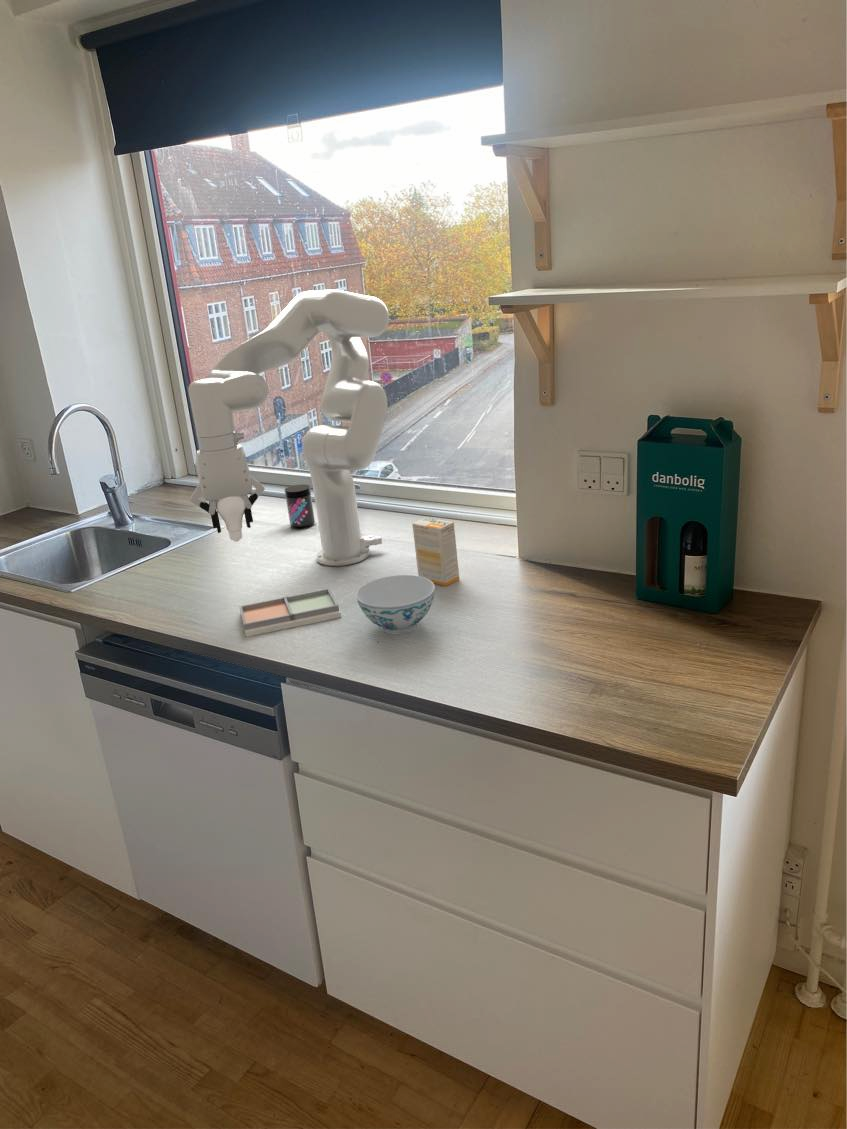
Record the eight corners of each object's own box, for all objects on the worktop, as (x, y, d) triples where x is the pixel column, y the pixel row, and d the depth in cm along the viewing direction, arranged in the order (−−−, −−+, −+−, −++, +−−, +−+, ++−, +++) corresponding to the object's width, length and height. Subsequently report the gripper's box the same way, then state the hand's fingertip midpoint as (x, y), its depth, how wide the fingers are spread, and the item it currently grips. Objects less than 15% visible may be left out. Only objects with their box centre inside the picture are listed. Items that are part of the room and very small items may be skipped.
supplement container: (285, 526, 233) (279, 489, 229) (306, 519, 237) (301, 483, 233) (299, 531, 228) (293, 493, 224) (320, 524, 232) (314, 486, 228)
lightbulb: (225, 548, 176) (217, 496, 172) (218, 540, 181) (210, 489, 177) (255, 542, 178) (247, 490, 174) (247, 534, 184) (239, 484, 180)
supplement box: (460, 579, 187) (455, 521, 182) (445, 587, 183) (440, 528, 179) (432, 572, 192) (426, 516, 187) (417, 579, 189) (411, 522, 184)
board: (329, 595, 185) (328, 586, 184) (341, 617, 174) (339, 607, 173) (240, 613, 181) (238, 604, 180) (246, 636, 170) (244, 626, 169)
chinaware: (345, 628, 169) (340, 591, 166) (407, 604, 177) (403, 568, 174) (390, 652, 158) (385, 613, 155) (454, 625, 166) (450, 588, 163)
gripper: (259, 432, 177) (273, 516, 184) (173, 445, 174) (191, 530, 180) (262, 439, 170) (277, 526, 177) (173, 452, 167) (191, 541, 173)
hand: (233, 527), depth 179 cm, fingers closed on lightbulb, 5 cm apart
